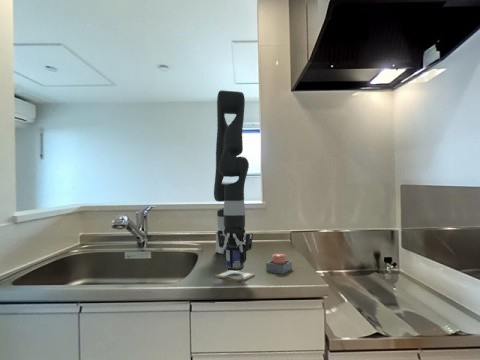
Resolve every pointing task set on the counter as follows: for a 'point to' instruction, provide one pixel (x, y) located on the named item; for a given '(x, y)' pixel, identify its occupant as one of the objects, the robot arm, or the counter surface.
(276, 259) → the button
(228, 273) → the picture frame
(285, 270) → the button collar
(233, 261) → the pill bottle
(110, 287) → the counter surface
